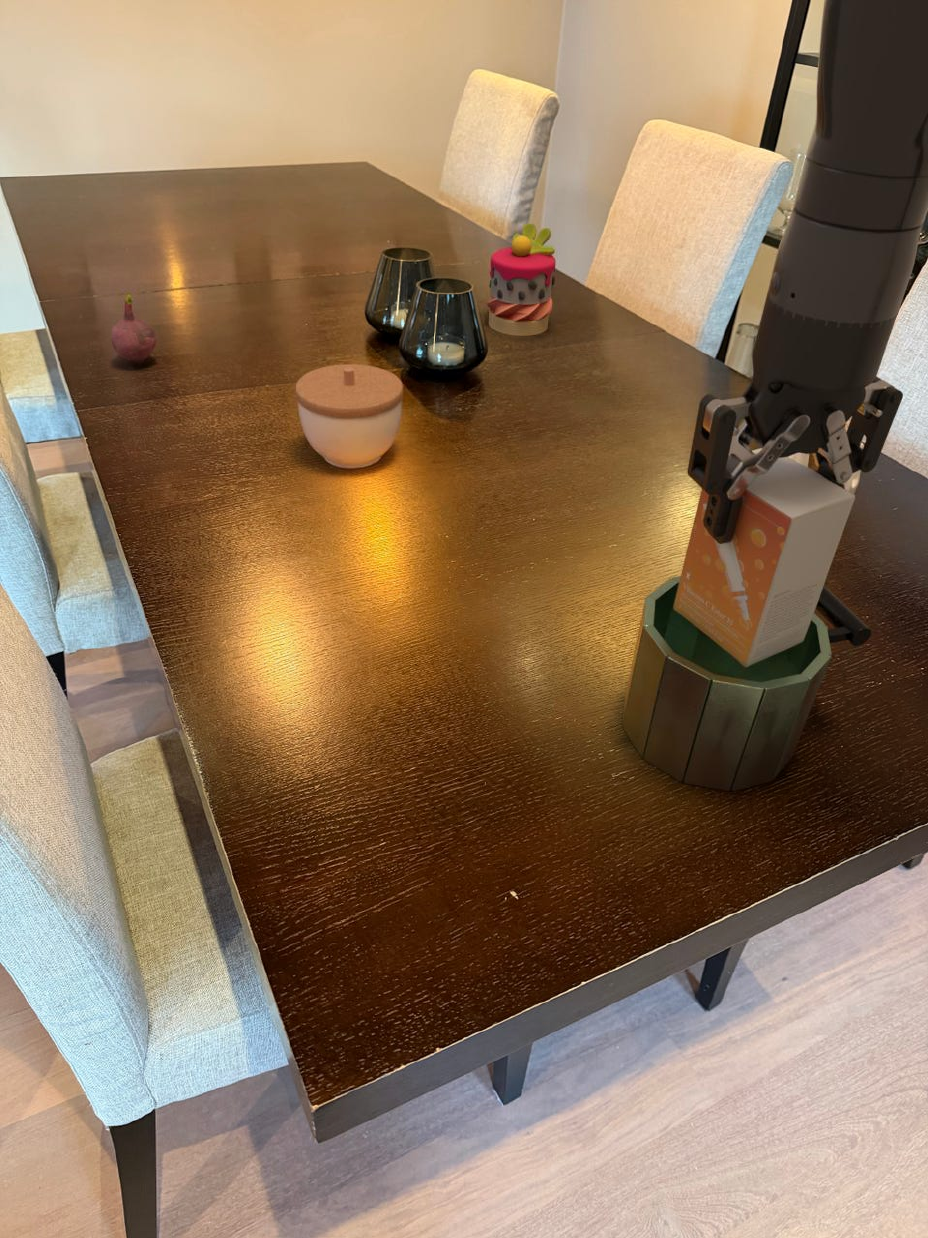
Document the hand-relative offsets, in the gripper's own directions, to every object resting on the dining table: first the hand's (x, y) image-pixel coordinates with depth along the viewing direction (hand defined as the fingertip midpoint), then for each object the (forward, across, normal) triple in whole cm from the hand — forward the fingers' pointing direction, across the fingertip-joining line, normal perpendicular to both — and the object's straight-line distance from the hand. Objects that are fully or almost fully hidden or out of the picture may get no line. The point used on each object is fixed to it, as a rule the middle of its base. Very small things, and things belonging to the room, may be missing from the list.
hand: (765, 529), depth 63 cm
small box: (+9, 0, 0) cm, 9 cm away
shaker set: (+20, +26, +26) cm, 42 cm away
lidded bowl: (+20, -18, +54) cm, 61 cm away
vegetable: (+20, -42, +88) cm, 100 cm away
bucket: (+14, -7, 0) cm, 16 cm away
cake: (+20, +18, +91) cm, 95 cm away
